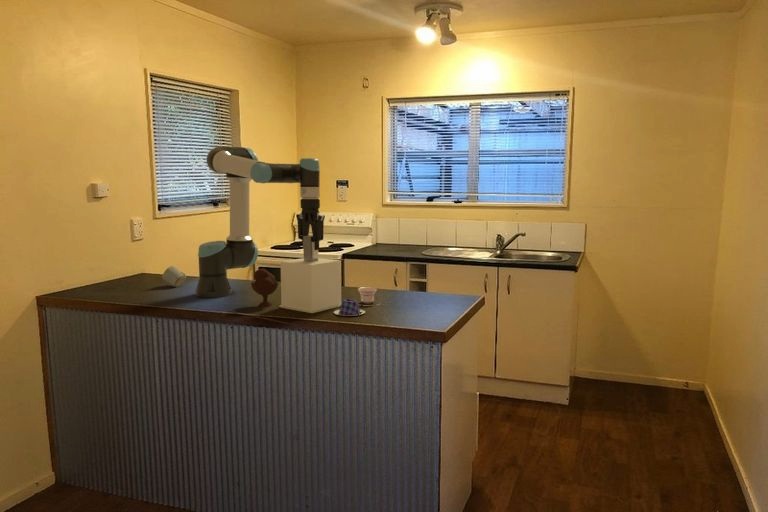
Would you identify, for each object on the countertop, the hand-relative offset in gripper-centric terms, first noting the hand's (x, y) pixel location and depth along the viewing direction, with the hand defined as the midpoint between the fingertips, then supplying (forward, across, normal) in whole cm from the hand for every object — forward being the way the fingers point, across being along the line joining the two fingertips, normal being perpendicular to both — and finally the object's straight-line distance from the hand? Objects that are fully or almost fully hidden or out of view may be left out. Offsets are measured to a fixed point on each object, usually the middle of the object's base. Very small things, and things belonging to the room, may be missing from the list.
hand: (310, 257), depth 236 cm
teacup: (+20, +14, +18) cm, 31 cm away
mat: (+20, 0, 0) cm, 20 cm away
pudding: (+20, +20, 0) cm, 28 cm away
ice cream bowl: (+20, -16, -10) cm, 27 cm away
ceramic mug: (+20, -83, -6) cm, 86 cm away
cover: (+19, 0, 0) cm, 19 cm away
